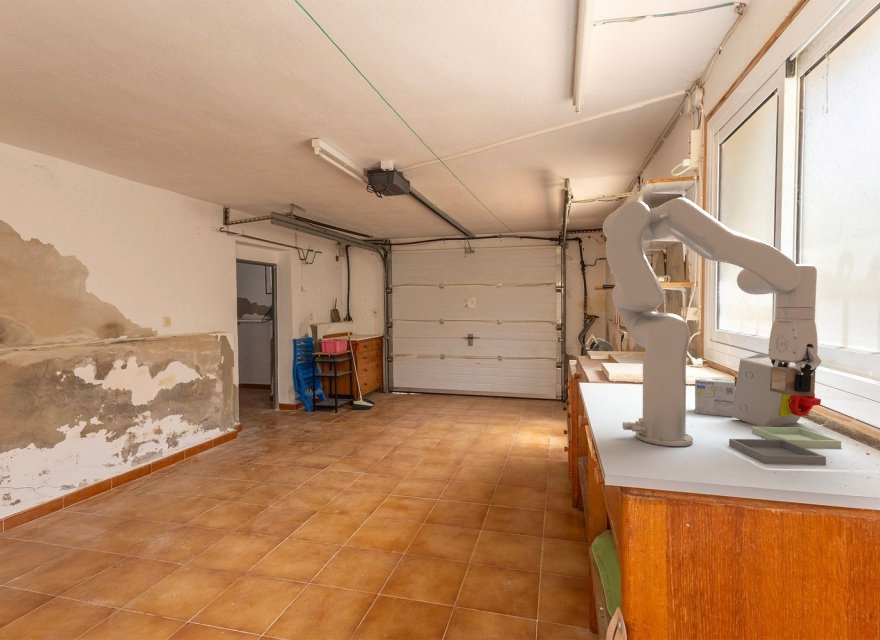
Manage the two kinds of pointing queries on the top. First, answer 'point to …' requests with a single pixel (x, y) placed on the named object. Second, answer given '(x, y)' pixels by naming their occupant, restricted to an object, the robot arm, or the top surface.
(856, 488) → the top surface
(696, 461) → the top surface
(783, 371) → the letter block
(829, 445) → the green tray
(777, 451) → the grey tray
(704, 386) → the light bulb box
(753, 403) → the electrical switch box
